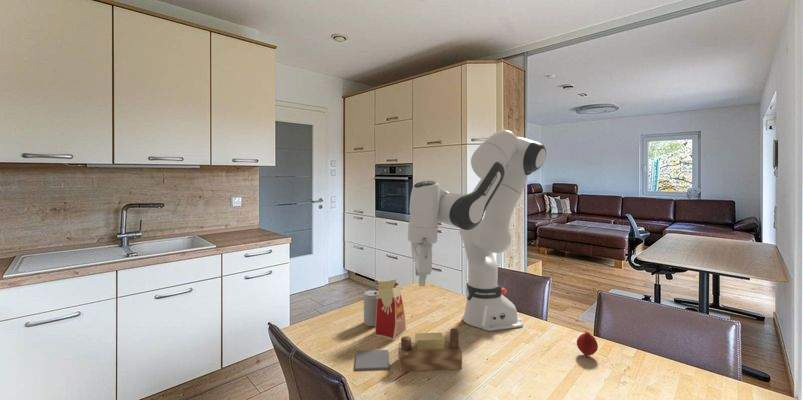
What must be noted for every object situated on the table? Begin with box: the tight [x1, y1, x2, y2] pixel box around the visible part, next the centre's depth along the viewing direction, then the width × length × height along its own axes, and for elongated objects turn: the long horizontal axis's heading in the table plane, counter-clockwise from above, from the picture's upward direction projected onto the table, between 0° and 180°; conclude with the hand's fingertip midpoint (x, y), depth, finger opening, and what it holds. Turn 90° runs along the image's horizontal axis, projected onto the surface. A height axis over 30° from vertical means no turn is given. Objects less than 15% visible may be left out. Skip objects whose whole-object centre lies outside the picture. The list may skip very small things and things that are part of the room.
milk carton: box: [374, 278, 407, 342], centre depth 126 cm, size 9×9×20 cm
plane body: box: [398, 328, 463, 372], centre depth 106 cm, size 18×7×10 cm, turn 95°
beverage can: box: [363, 290, 378, 328], centre depth 134 cm, size 6×6×12 cm
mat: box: [354, 349, 391, 371], centre depth 108 cm, size 10×10×1 cm
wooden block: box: [414, 332, 445, 352], centre depth 106 cm, size 8×4×4 cm, turn 95°
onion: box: [576, 330, 599, 357], centre depth 111 cm, size 6×6×8 cm
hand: (419, 280), depth 108 cm, fingers open, 8 cm apart
